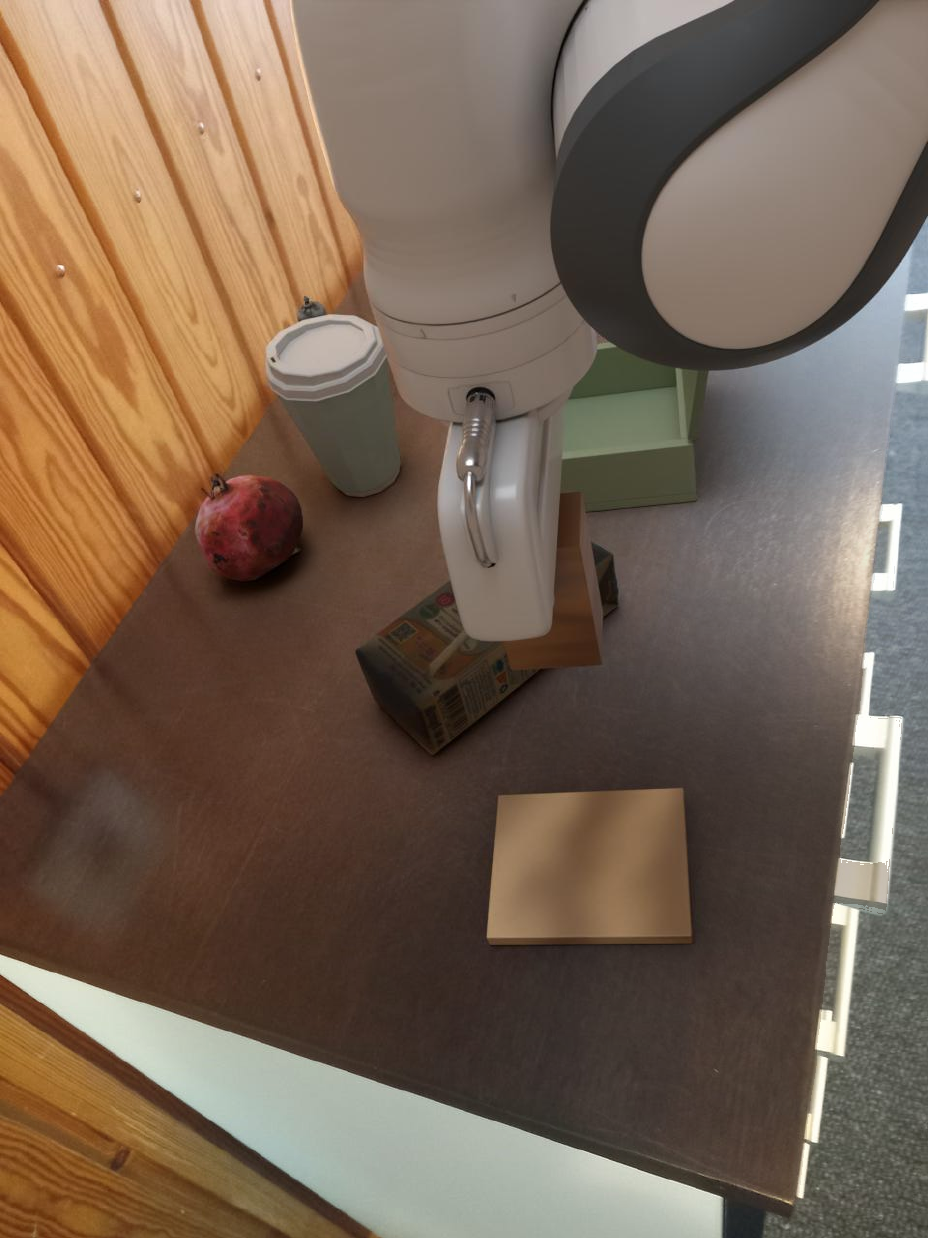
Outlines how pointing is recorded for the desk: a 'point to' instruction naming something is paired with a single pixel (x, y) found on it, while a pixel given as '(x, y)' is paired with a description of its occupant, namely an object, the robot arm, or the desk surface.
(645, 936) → the board
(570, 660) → the brown wooden block
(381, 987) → the desk surface
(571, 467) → the green box base
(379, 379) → the disposable coffee cup
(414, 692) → the beverage carton
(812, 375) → the desk surface
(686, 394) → the lid
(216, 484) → the fruit
